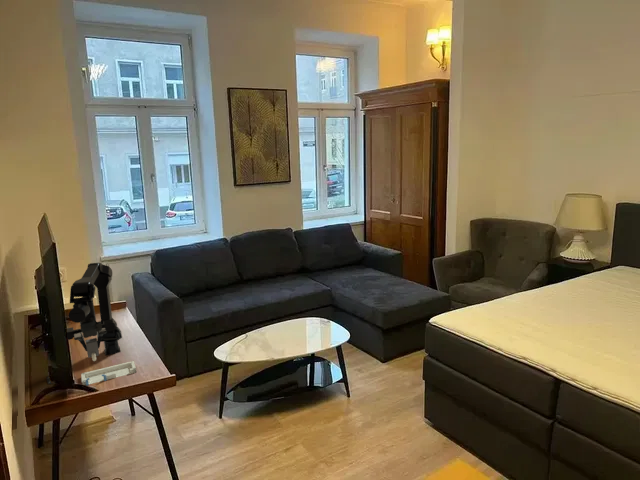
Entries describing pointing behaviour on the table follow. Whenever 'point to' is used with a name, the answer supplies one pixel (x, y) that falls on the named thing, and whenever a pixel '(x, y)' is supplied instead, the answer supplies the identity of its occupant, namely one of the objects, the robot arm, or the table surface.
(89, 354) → the cord plug
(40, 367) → the table surface
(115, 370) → the long open trough
